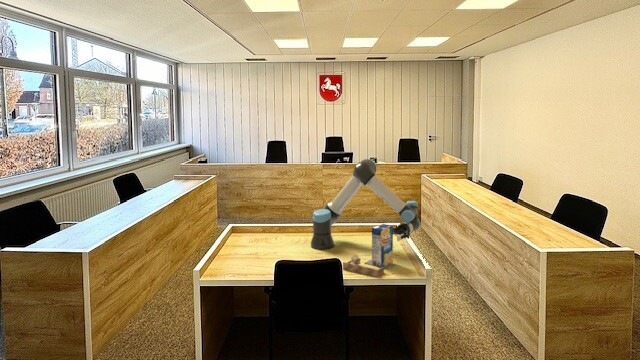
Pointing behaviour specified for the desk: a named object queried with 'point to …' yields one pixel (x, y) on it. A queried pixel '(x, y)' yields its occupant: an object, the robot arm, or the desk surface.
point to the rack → (362, 269)
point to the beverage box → (382, 245)
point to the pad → (379, 266)
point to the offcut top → (355, 259)
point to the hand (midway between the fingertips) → (387, 236)
